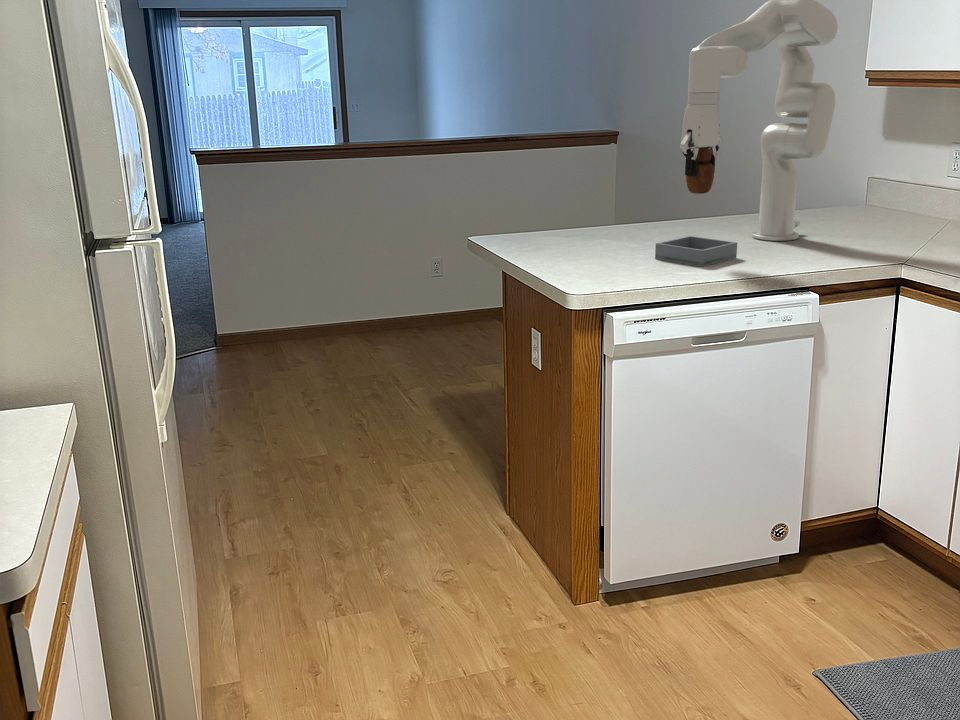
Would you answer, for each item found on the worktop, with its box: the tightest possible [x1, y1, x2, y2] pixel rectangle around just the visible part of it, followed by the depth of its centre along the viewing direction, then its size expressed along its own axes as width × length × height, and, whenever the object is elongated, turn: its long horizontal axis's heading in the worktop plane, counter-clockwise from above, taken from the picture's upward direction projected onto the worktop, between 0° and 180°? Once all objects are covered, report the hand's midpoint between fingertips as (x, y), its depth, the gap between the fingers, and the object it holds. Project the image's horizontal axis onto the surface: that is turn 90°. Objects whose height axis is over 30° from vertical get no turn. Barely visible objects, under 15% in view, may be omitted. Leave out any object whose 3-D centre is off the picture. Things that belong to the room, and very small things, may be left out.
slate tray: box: [654, 235, 738, 267], centre depth 236 cm, size 15×15×4 cm
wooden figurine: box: [685, 147, 715, 195], centre depth 229 cm, size 7×6×15 cm
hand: (699, 173), depth 230 cm, fingers closed on wooden figurine, 6 cm apart
